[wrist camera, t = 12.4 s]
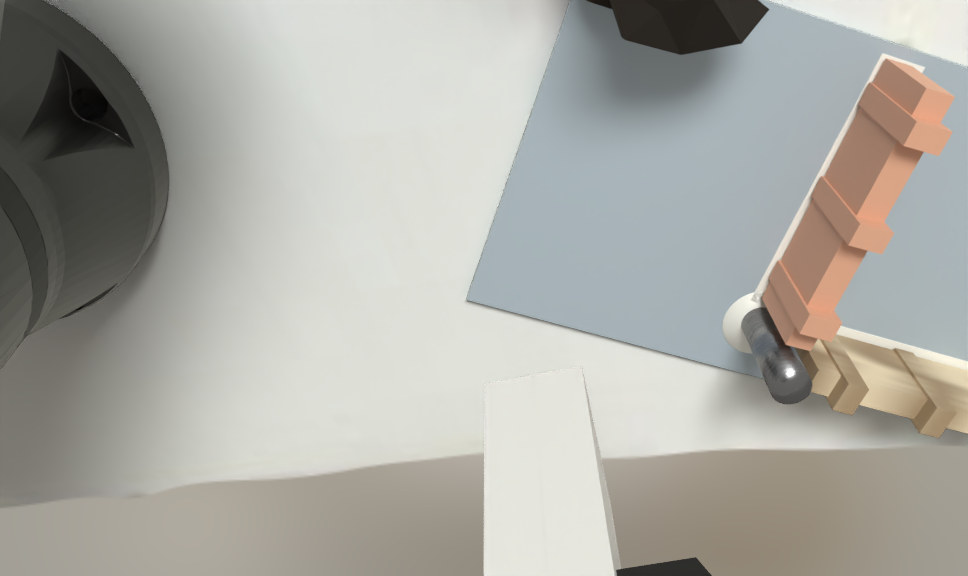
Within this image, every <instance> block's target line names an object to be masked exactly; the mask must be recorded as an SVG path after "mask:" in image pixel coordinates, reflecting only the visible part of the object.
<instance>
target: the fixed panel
mask: <svg viewBox="0 0 968 576" xmlns="http://www.w3.org/2000/svg"><path fill="white" fill-rule="evenodd" d="M794 348H795V350H796V351H797V353H798V355H799V357H800V359H801V361H802V363H803V365H804V367H805V369H806V370H807V372H808V374H809V376H810V378H811V380H812V390H811V392H812V393H816V394H820V395H824V396H825V397H826V399H827V401H828V403H829V405H830V406H831V408H832V410H834V411H838V412H841V413H845V414H849V415H853V414H854V412H855V411H856V409H857V408H858V406H859V405H861V406H865V407H869V408H873V409H876V410H880V411H884V412H888V413H891V414H895V415H899V416H903V417H907V418H910V419H911V421H912V422H913V424H914V425H915V427H916V428H917V430H918V432H919V433H921V434H925V435H929V436H933V437H936V438H939V437H940V436H941V435H942V433H943V432H944V430H945V429H946V428H948V429H952V430H956V431H959V432H963V433H967V434H968V371H967V370H963V369H960V368H956V367H953V366H949V365H945V364H942V363H938V362H935V361H931V360H927V359H924V358H920V357H916V356H915V355H914V353H912V352H909V351H905V350H902V349H898V348H895V349H894V350H891V349H888V348H884V347H880V346H877V345H873V344H870V343H866V342H862V341H859V340H855V339H852V338H848V337H844V336H841V335H837V334H836V335H835V337H834V338H833V340H832V342H829V341H825V340H822V339H817V341H816V343H815V345H814V346H813V348H812V350H811V351H808V350H804V349H800V348H796V347H794Z"/></svg>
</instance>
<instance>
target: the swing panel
mask: <svg viewBox="0 0 968 576" xmlns="http://www.w3.org/2000/svg"><path fill="white" fill-rule="evenodd" d="M954 98H955V96H953V95H952V94H950V93H949V92H948V91H946V90H945V89H943V88H942V87H941V86H939V85H938V84H936V83H935V82H934V81H932V80H931V79H929V78H928V77H926V76H925V75H924V74H922V73H921V72H919V71H918V70H917V69H915V68H914V67H912V66H910V65H907V64H903V63H900V62H897V61H894V60H890V59H887V58H885V60H884V62H883V64H882V66H881V68H880V70H879V72H878V74H877V76H876V78H875V80H874V82H873V83H870V82H869V84H868V86H867V88H866V90H865V92H864V94H863V96H862V98H861V100H860V102H859V104H858V105H859V106H860V109H859V111H858V113H857V115H856V116H855V118H854V120H853V122H852V124H851V126H850V128H849V130H848V132H847V134H846V136H845V138H844V140H843V142H842V144H841V146H840V147H839V149H838V151H837V153H836V155H835V157H834V159H833V161H832V163H831V165H830V167H829V169H828V171H827V173H826V175H825V177H823V176H821V177H820V179H819V181H818V183H817V185H816V187H815V189H814V191H813V193H812V195H811V196H812V198H813V200H812V202H811V204H810V206H809V207H808V209H807V211H806V213H805V215H804V217H803V219H802V221H801V223H800V225H799V227H798V229H797V231H796V233H795V235H794V237H793V238H792V240H791V242H790V244H789V246H788V248H787V250H786V252H785V254H784V256H783V258H782V260H781V261H779V260H778V261H777V263H776V265H775V267H774V269H773V271H772V273H771V275H770V277H769V280H770V283H769V285H768V287H767V289H766V291H765V293H764V295H763V297H762V300H763V302H764V304H765V306H766V307H767V309H768V311H769V313H770V315H771V317H772V319H773V321H774V323H775V325H776V327H777V329H778V331H779V333H780V335H781V337H782V338H783V340H784V342H785V344H786V345H788V346H792V347H796V348H800V349H804V350H808V351H811V350H812V348H813V346H814V345H815V343H816V341H817V339H822V340H825V341H829V342H832V340H833V338H834V337H835V335H836V333H837V331H838V330H839V328H840V326H841V325H842V322H841V320H840V318H839V317H838V315H837V314H836V312H835V311H834V309H835V308H836V306H837V304H838V302H839V301H840V299H841V297H842V295H843V293H844V292H845V290H846V288H847V286H848V285H849V283H850V281H851V279H852V278H853V276H854V274H855V272H856V271H857V269H858V267H859V265H860V264H861V262H862V260H863V258H864V257H865V255H866V253H867V251H871V252H874V253H878V254H883V252H884V250H885V249H886V247H887V245H888V243H889V242H890V240H891V238H892V236H893V235H894V232H893V231H892V230H891V229H890V228H889V227H888V225H887V224H886V223H885V222H884V221H885V220H886V218H887V216H888V214H889V213H890V211H891V209H892V207H893V205H894V204H895V202H896V200H897V198H898V197H899V195H900V193H901V191H902V190H903V188H904V186H905V184H906V183H907V181H908V179H909V177H910V176H911V174H912V172H913V170H914V168H915V167H916V165H917V163H918V161H919V160H920V158H921V156H922V154H923V153H924V152H926V153H929V154H933V155H936V156H939V155H940V153H941V152H942V150H943V148H944V147H945V145H946V143H947V141H948V140H949V138H950V136H951V134H952V133H953V132H952V131H951V130H949V129H948V128H947V127H946V126H944V125H943V124H942V123H941V121H942V119H943V117H944V116H945V114H946V112H947V110H948V109H949V107H950V105H951V103H952V102H953V100H954Z"/></svg>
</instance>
